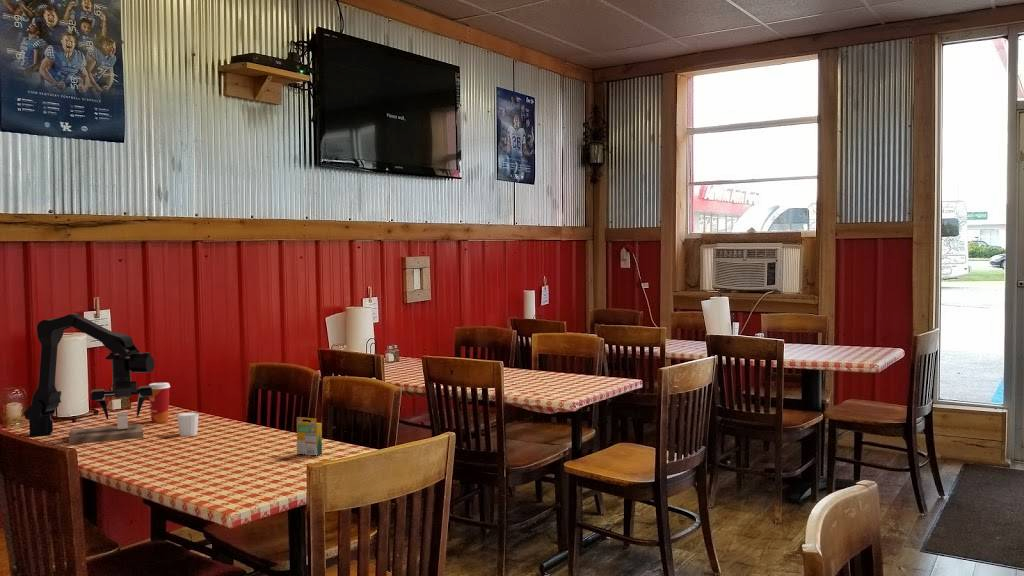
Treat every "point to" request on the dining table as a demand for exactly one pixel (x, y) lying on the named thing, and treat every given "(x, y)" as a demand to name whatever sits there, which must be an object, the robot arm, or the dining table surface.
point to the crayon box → (309, 436)
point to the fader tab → (122, 421)
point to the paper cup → (159, 402)
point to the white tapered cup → (188, 423)
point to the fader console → (104, 434)
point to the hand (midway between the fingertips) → (122, 418)
